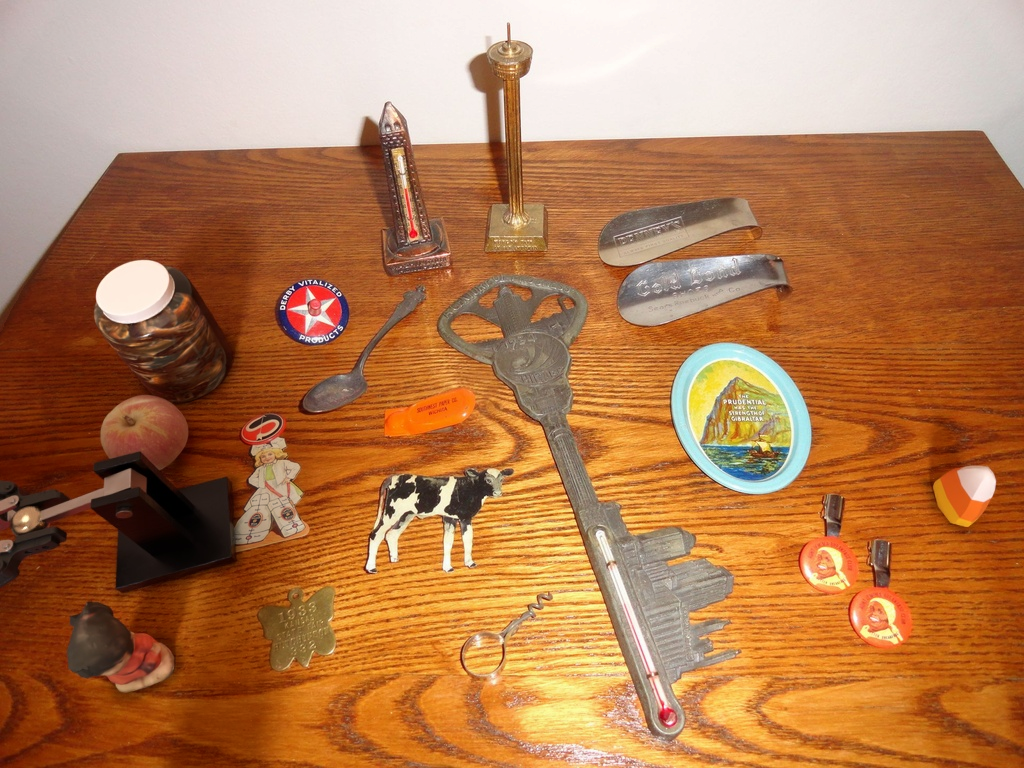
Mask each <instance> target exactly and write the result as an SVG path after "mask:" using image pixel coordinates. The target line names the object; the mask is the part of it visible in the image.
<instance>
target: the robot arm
mask: <svg viewBox="0 0 1024 768" xmlns="http://www.w3.org/2000/svg"><path fill="white" fill-rule="evenodd" d="M69 500H71V498H70V497H69V496H68V495H66V494H65V493H64V492H62V491H59V490H57V489H55V488H49V489H46V490H42V491H39V492H34V493H31V494H30V493H29V492H28V491H27V490H26V489H23V488H22V487H20V486H18V485H17V484H16V483H15V482H14V481H12V480H11V481H9V480H8V481H7V480H0V532H2V531H4V530H7V529H9V528H11V526H10V523H11V519H12V517H13V515H14V514H15V513H16V512H17V511H18V510H20V509H22V508H24V507H27V506H38V507H41V508H43V509H44V510H45V509H48V508H51V507H53V506H56V505H59V504H61V503H64V502H67V501H69ZM67 538H68V532H66V531H65V530H64V529H62V528H60V527H58V526H49V528H45V529H41V530H38V531H34V532H30V533H27V534H23V535H19V536H16V535H15V538H14V540H11V539H2V540H0V589H1V588H3V587H5V586H6V585H7V584H9V583H11V582H13V581H14V580H16V579H17V578H18V577H19V575H20V574H21V570H20V565H21V563H22V561H24V560H26V559H27V558H28V557H30V556H34V555H37V554H40V553H41V554H42V553H44V552H48V551H51V550H55V549H56V548H58V547H60V546H61V544H62V543H65V542H67Z"/></svg>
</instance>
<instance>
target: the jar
mask: <svg viewBox="0 0 1024 768" xmlns="http://www.w3.org/2000/svg"><path fill="white" fill-rule="evenodd" d="M95 300H96V302H95V305H94V310H93V318H94V322H95V325H96V327H97V329H98V331H99V332H100V334H101V335H102V336H103V338H104V339H105V340H106V342H107V343H108V345H110V347H111V349H113V351H114V352H115V353H116V354H117V355H118V356H119V358H120V359H121V360H122V362H123V363H124V364H125V365H126V366H127V368H128V369H129V370H130V371H131V372H132V373H133V374H134V376H135V377H136V378H137V379H138V380H139V382H140V383H141V384H142V385H143V386H144V387H145V388H146V390H147V391H148V392H149V393H150V394H151V395H152V396H156V397H160V398H162V399H165V400H167V401H169V402H171V403H186V402H191V401H194V400H197V399H199V398H202V397H204V396H206V395H208V394H209V393H211V392H213V390H215V389H216V388H218V386H219V385H220V384H222V383H223V381H224V380H225V378H226V377H227V375H228V374H229V372H230V370H231V367H232V364H233V358H234V357H233V355H234V354H233V349H232V346H231V343H230V341H229V340H228V338H227V336H226V335H225V333H224V331H223V330H222V328H221V326H220V325H219V323H218V321H217V320H216V318H215V317H214V315H213V313H212V311H211V309H210V308H209V307H208V305H207V304H206V302H205V300H204V299H203V297H202V296H201V294H200V293H199V291H198V289H197V288H196V286H195V285H194V284H193V282H192V281H191V280H190V278H188V276H187V275H186V274H185V273H183V272H182V271H181V270H180V269H177V268H176V267H173V266H169V265H167V264H164V265H163V264H161V263H160V262H157V261H155V260H149V259H138V260H137V259H136V260H132V261H128V262H126V263H123V264H121V265H119V266H116V267H115V268H113V269H112V270H111V271H110V272H108V273H107V274H106V275H105V276H104V277H103V279H102V280H101V281H100V283H99V284H98V286H97V288H96V293H95Z"/></svg>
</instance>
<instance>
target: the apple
mask: <svg viewBox="0 0 1024 768" xmlns="http://www.w3.org/2000/svg"><path fill="white" fill-rule="evenodd" d="M188 438H189V425H188V422H187V420H186V417H185V416H184V414H183V413H182V412H181V410H180V409H179V408H178V407H177V406H176V405H174V403H173V402H169V401H167V400H165V399H162V398H160V397H156V396H154V395H153V394H151V395H150V394H141V395H135V396H133V397H130V398H128V399H125V400H123V401H121V402H120V403H119V404H118V405H116V406H115V407H114V408H113V409H112V410H111V411H109V413H108V414H107V415H106V416H105V417H104V420H103V421H102V423H101V427H100V444H101V446H102V447H101V448H102V449H103V451H104V453H105V454H106V456H107V457H108V459H111V458H115V457H119V456H123V455H127V454H131V453H135V452H139V451H141V452H142V453H143V454H144V455H145V456H146V457H147V458H148V459H149V460H150V461H151V462H152V463H153V464H154V465H155V466H156V467H157V468H158V470H159V471H161V470H164V468H166V467H168V466H169V465H171V464H172V463H173V462H174V461H175V460H176V459H177V458H178V456H179V455H180V454H181V453H182V451H183V450H184V449H185V447H186V445H187V442H188Z"/></svg>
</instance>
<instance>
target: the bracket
mask: <svg viewBox="0 0 1024 768" xmlns="http://www.w3.org/2000/svg"><path fill="white" fill-rule="evenodd" d="M129 468H132V469H133V470H135V471H136V472H138V473H140V474H141V475H143V476H145V477H146V478H147V486H146V492H144V491H143V490H142V489H141V488H140V487H136V488H133V489H129V490H125V491H121V492H117V493H113V494H109V495H106V496H102V497H98V498H94V499H91V508H90V510H92V511H93V512H94V513H96V514H97V515H98V516H99V517H101V518H102V519H103V520H105V521H106V522H107V523H108V524H110V525H111V526H112V527H114V528H115V529H116V530H117V545H116V547H117V548H116V565H115V566H116V568H115V587H114V588H115V590H116V591H118V592H119V593H121V594H125V593H129V592H132V591H135V590H139V589H143V588H146V587H150V586H153V585H157V584H161V583H164V582H168V581H172V580H176V579H179V578H183V577H187V576H190V575H193V574H197V573H201V572H204V571H208V570H212V569H215V568H219V567H223V566H225V565H231V564H233V563H236V562H237V551H236V550H237V549H236V535H235V534H236V533H235V517H234V516H235V515H234V497H233V482H232V481H231V480H230V478H229V477H228V476H223V477H220V478H216V479H212V480H208V481H204V482H200V483H197V484H193V485H190V486H185V487H180V488H178V487H176V485H175V484H173V482H172V481H171V480H170V479H169V478H168V477H167V476H166V475H164V473H163V472H162V471H161V470H158V468H157V467H156V466H155V465H154V464H153V463H152V462H151V461H150V460H149V459H148V458H147V457H146V456H145V455H144V454H143V453H142V452H141V451H139V452H135V453H131V454H127V455H123V456H119V457H115V458H111V459H110V458H108V459H103V460H100V461H96V462H93V473H94V474H96V475H97V476H98V477H99V478H101V480H102V481H104V478H105V477H108V476H110V475H113V474H116V473H118V472H121V471H124V470H127V469H129Z"/></svg>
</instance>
